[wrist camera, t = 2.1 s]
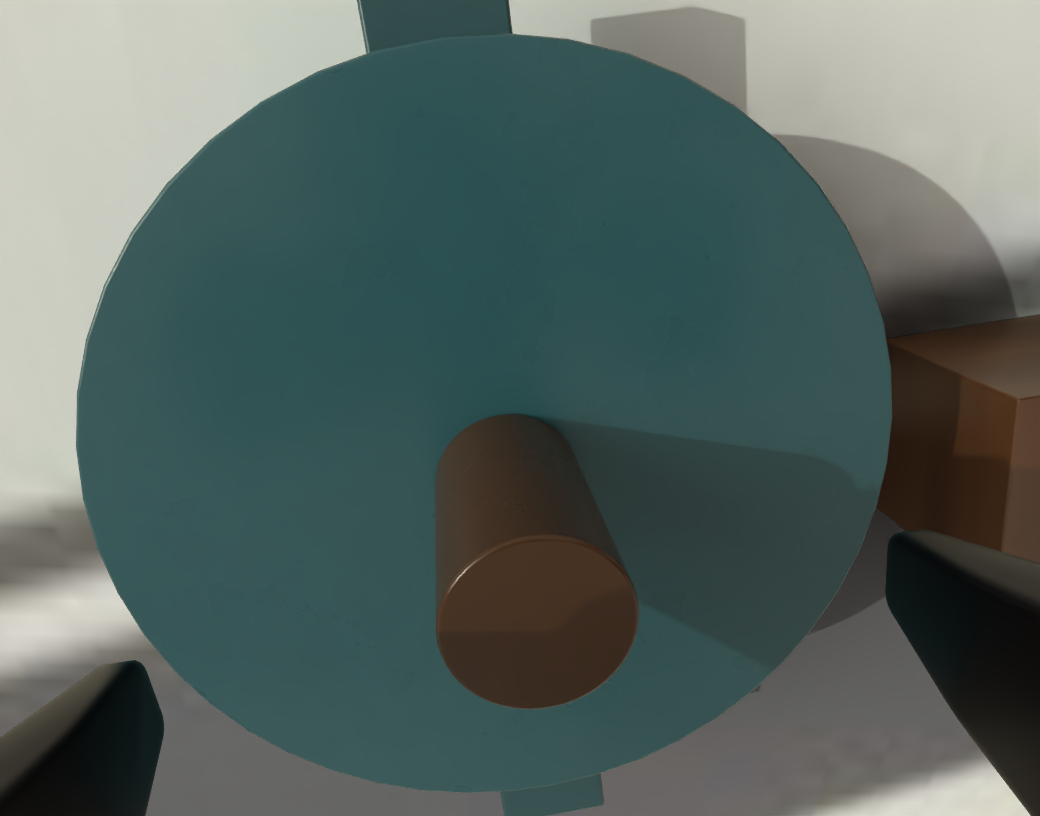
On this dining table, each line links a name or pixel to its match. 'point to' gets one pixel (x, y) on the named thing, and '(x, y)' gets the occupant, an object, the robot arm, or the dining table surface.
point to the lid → (484, 413)
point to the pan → (412, 18)
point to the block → (967, 434)
